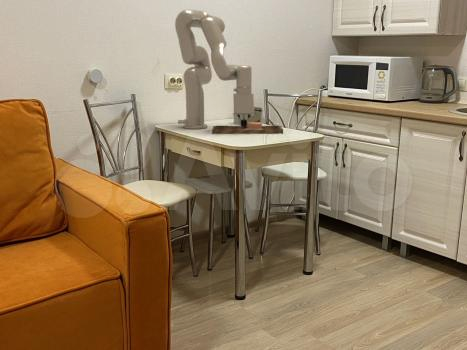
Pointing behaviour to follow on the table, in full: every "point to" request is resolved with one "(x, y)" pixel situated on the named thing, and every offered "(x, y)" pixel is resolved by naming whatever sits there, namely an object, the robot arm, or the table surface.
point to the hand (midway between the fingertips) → (243, 127)
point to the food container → (256, 115)
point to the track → (246, 130)
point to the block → (254, 125)
